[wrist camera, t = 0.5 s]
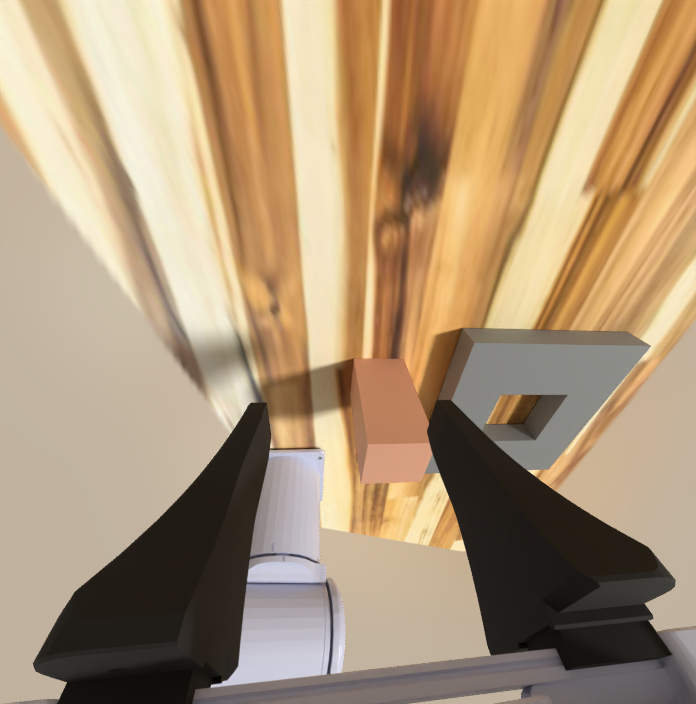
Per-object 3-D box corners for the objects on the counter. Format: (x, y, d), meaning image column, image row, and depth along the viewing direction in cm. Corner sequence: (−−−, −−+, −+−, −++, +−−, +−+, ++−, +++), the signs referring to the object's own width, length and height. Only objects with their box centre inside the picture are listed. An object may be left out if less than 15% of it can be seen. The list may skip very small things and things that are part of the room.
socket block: (537, 453, 32) (548, 469, 31) (417, 456, 31) (422, 473, 29) (627, 332, 23) (650, 345, 22) (462, 328, 22) (474, 342, 20)
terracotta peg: (395, 395, 25) (421, 481, 19) (349, 395, 25) (360, 483, 18) (403, 359, 23) (436, 442, 16) (353, 358, 22) (368, 444, 16)
